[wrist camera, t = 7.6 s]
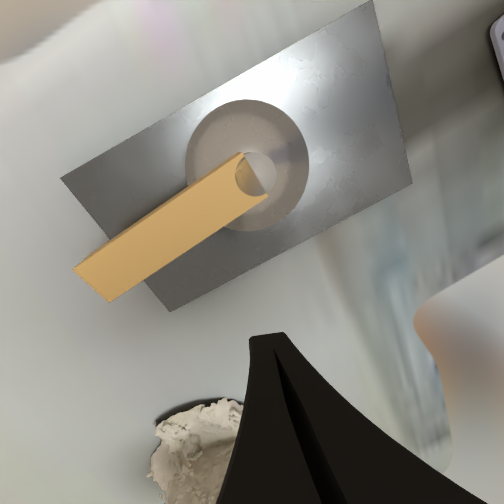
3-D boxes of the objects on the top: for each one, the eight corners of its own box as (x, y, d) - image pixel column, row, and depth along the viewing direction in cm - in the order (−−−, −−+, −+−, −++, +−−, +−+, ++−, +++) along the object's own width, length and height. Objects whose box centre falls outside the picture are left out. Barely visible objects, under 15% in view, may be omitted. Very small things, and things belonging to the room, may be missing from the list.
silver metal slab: (362, 8, 15) (397, -25, 12) (402, 181, 19) (435, 187, 16) (68, 176, 16) (38, 182, 13) (171, 304, 20) (165, 329, 17)
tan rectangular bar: (253, 141, 13) (260, 139, 12) (276, 180, 14) (285, 185, 12) (89, 254, 14) (72, 269, 12) (120, 284, 15) (108, 302, 13)
